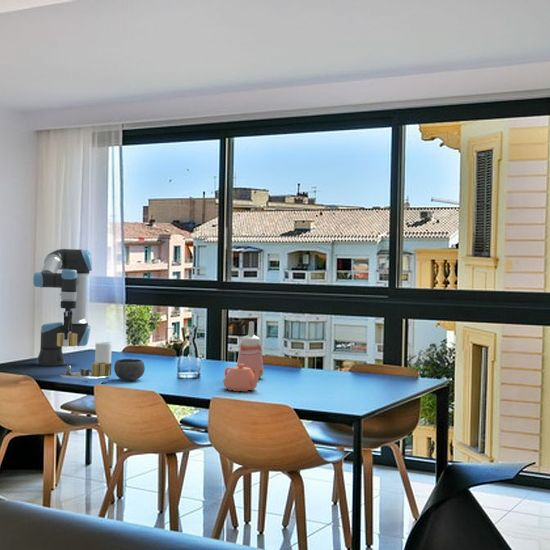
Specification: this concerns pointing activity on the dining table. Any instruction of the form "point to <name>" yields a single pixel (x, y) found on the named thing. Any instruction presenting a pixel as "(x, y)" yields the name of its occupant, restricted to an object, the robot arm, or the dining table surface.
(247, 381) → the teapot
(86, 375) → the carrier
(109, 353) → the cup
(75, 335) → the gear
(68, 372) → the pin
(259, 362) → the pink squeeze bottle
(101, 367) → the seated gear
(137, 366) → the bowl
